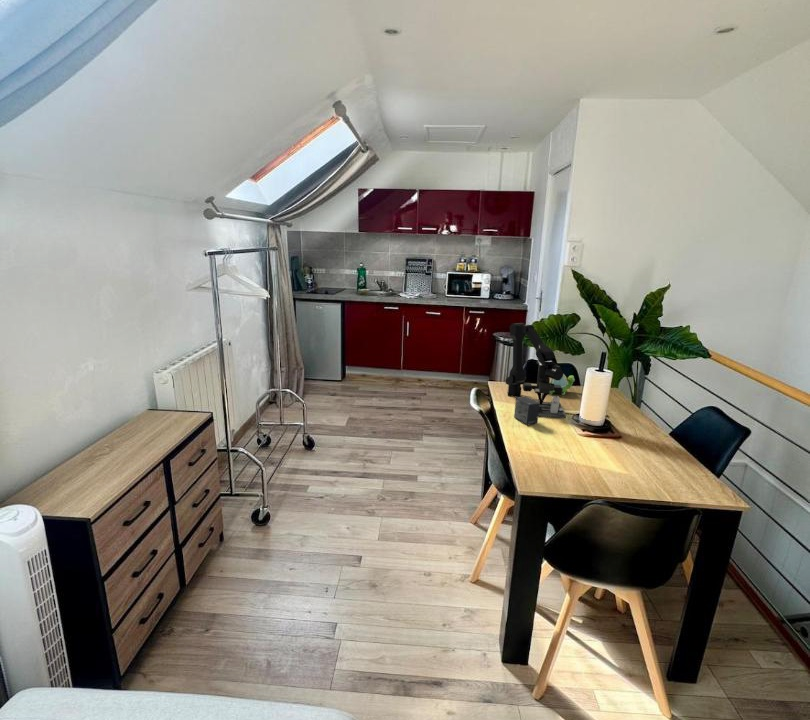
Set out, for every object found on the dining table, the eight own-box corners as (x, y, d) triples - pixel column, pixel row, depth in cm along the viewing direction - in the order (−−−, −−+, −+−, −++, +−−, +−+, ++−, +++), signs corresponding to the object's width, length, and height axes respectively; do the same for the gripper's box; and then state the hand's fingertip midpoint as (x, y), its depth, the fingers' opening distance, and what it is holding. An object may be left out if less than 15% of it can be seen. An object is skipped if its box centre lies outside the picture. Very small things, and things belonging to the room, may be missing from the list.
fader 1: (552, 407, 230) (553, 397, 229) (551, 405, 233) (552, 395, 232) (558, 407, 230) (559, 397, 228) (557, 405, 232) (558, 395, 231)
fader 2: (551, 413, 222) (552, 403, 221) (550, 410, 225) (551, 400, 224) (557, 413, 222) (558, 403, 220) (556, 411, 225) (557, 401, 223)
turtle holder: (578, 395, 254) (581, 374, 251) (547, 396, 252) (549, 375, 249) (568, 388, 266) (570, 368, 263) (538, 388, 264) (540, 368, 261)
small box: (538, 424, 213) (540, 402, 211) (526, 426, 211) (528, 404, 208) (524, 416, 223) (526, 395, 220) (513, 417, 220) (515, 397, 218)
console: (533, 416, 223) (534, 411, 222) (529, 403, 240) (530, 399, 239) (566, 418, 221) (566, 414, 220) (559, 405, 238) (560, 401, 237)
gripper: (526, 378, 222) (523, 408, 226) (566, 380, 219) (562, 411, 223) (523, 371, 232) (521, 400, 236) (562, 374, 230) (558, 403, 234)
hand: (540, 404), depth 232 cm, fingers closed
